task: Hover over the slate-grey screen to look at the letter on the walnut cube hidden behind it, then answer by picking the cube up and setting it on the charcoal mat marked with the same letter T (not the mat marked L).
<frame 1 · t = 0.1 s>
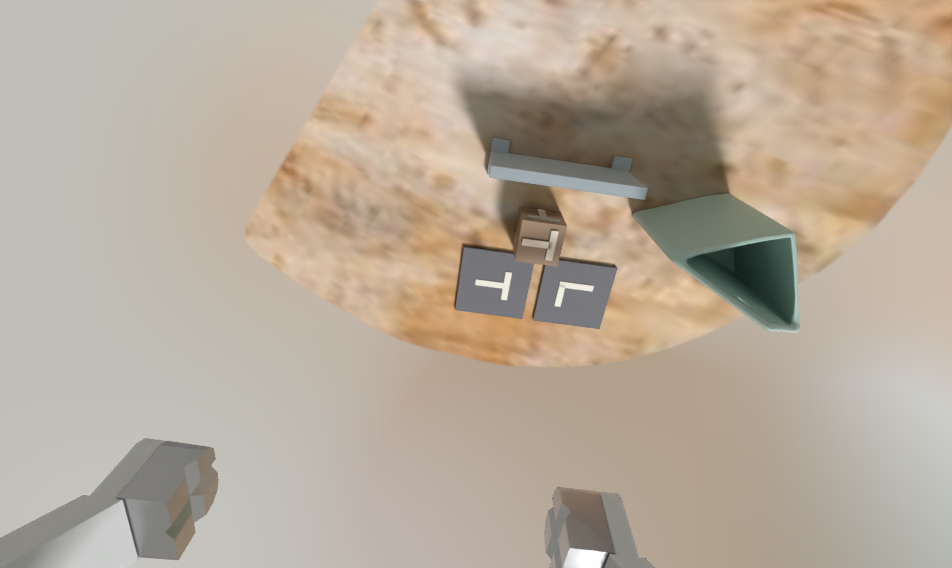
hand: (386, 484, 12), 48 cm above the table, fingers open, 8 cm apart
planter: (705, 220, 58), on the table
pad L: (573, 293, 63), on the table
cube: (536, 229, 59), on the table
pad T: (494, 283, 62), on the table
screen: (558, 165, 55), on the table
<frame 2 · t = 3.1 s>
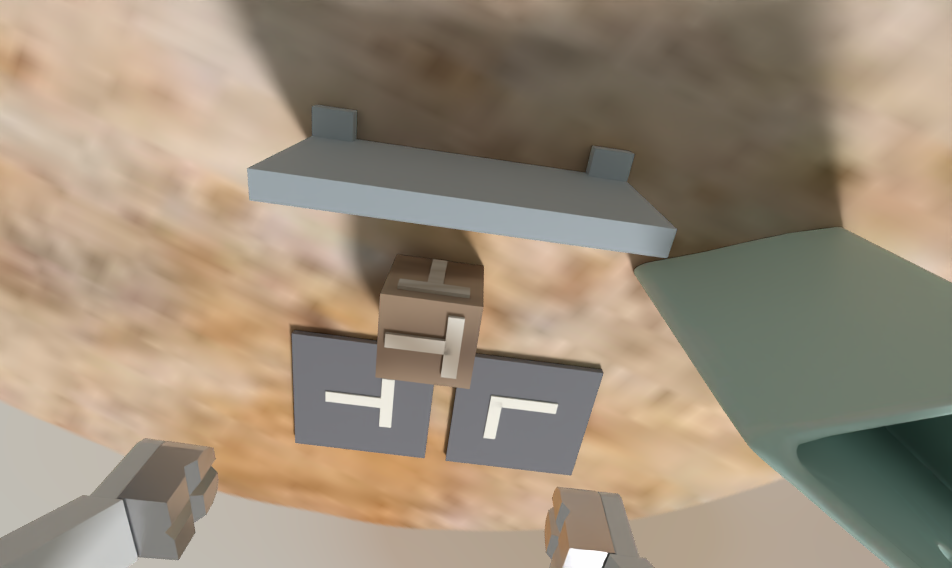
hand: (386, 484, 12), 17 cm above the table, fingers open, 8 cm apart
planter: (784, 281, 28), on the table
pad L: (519, 415, 32), on the table
cube: (436, 297, 29), on the table
pad T: (363, 396, 32), on the table
screen: (470, 167, 25), on the table
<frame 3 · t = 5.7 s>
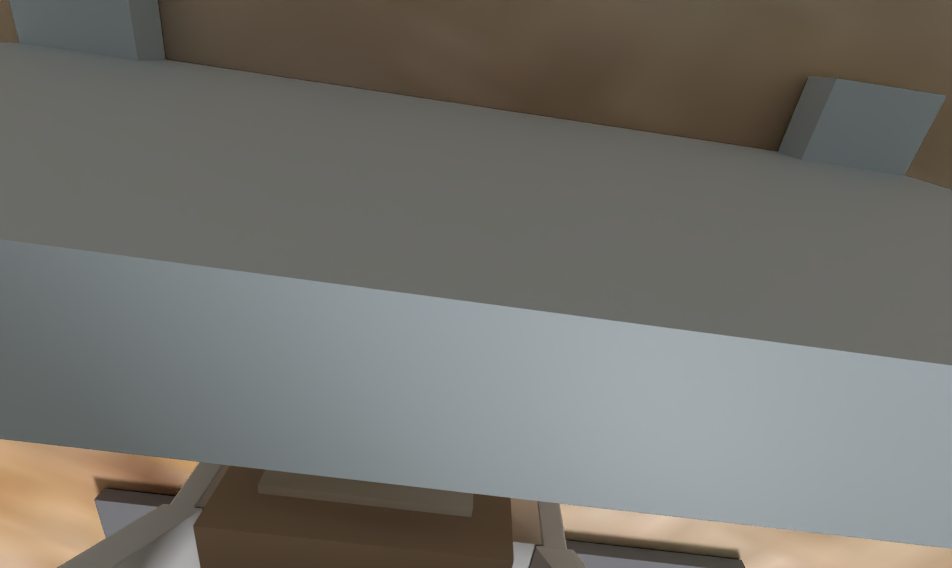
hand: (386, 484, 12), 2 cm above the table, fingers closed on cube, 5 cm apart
cube: (398, 433, 13), on the table, touching gripper
screen: (475, 138, 10), on the table
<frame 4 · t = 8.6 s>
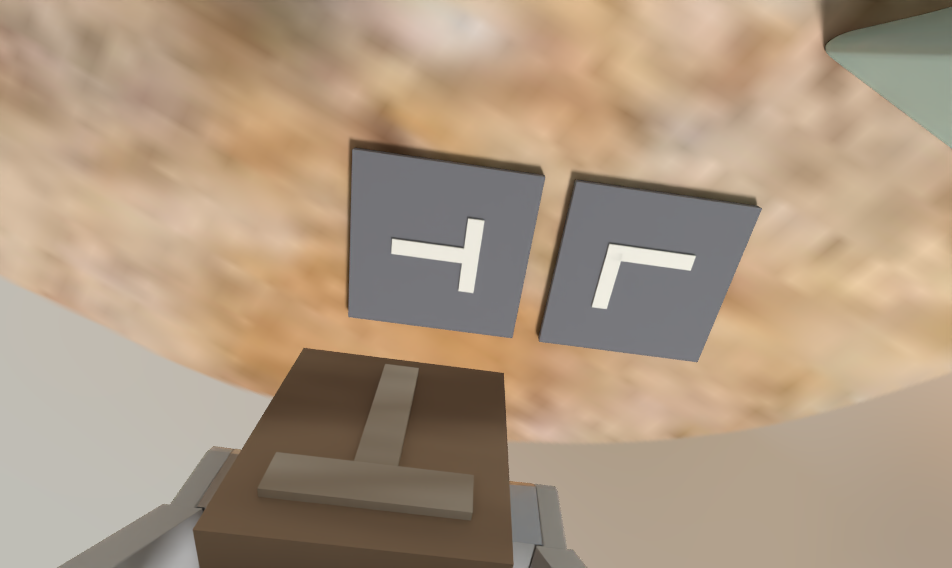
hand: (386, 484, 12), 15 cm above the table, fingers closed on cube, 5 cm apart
pad L: (640, 276, 25), on the table
cube: (397, 435, 13), point 13 cm above the table, touching gripper
pad T: (440, 249, 25), on the table
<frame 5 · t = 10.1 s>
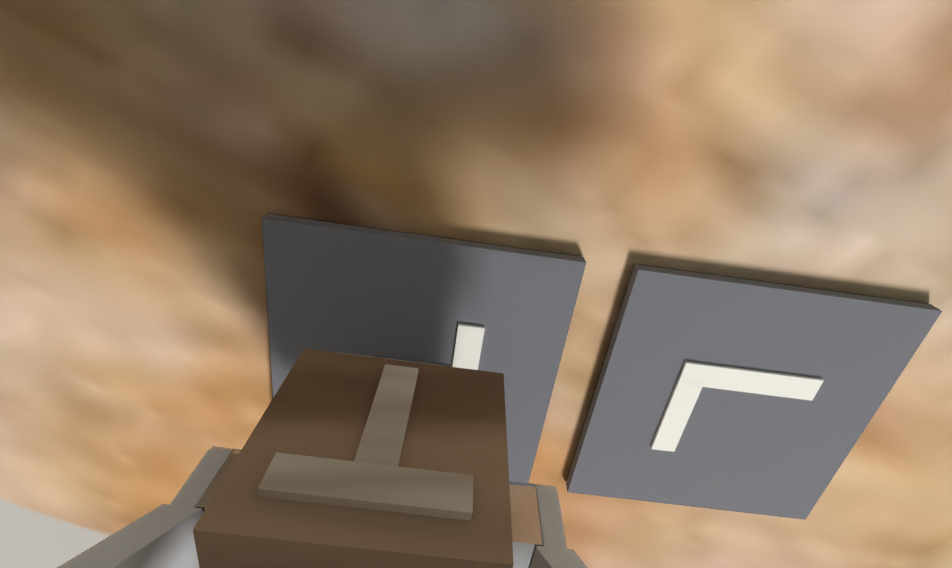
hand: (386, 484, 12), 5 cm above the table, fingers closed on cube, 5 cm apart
pad L: (727, 403, 16), on the table
cube: (397, 436, 13), point 3 cm above the table, touching gripper
pad T: (415, 364, 16), on the table
when the fingers open (3 cm above the table, at t = 11.3 s): cube stays where it is, resting on pad T.
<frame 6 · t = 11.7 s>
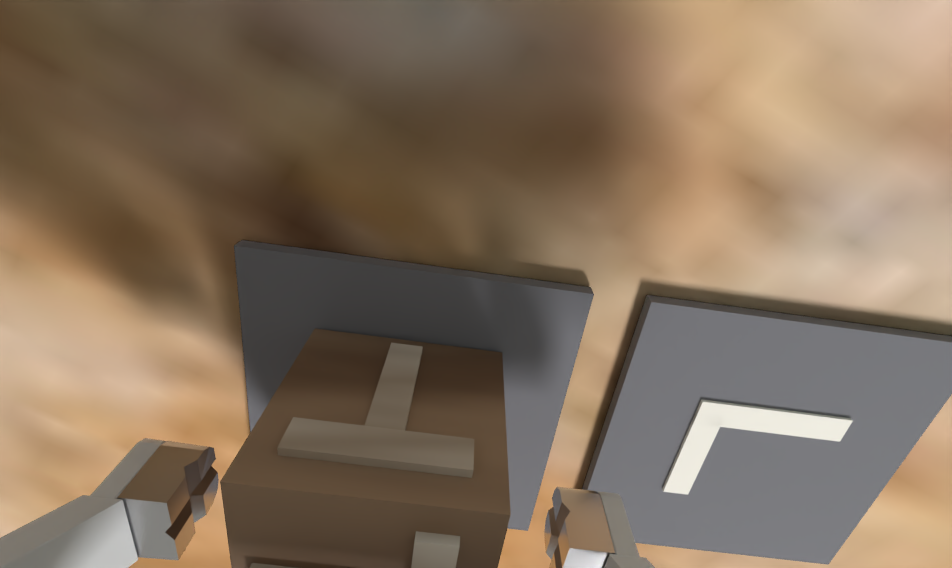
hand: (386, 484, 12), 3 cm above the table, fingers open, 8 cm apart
pad L: (746, 443, 15), on the table
cube: (402, 413, 14), resting on pad T
pad T: (405, 401, 14), on the table
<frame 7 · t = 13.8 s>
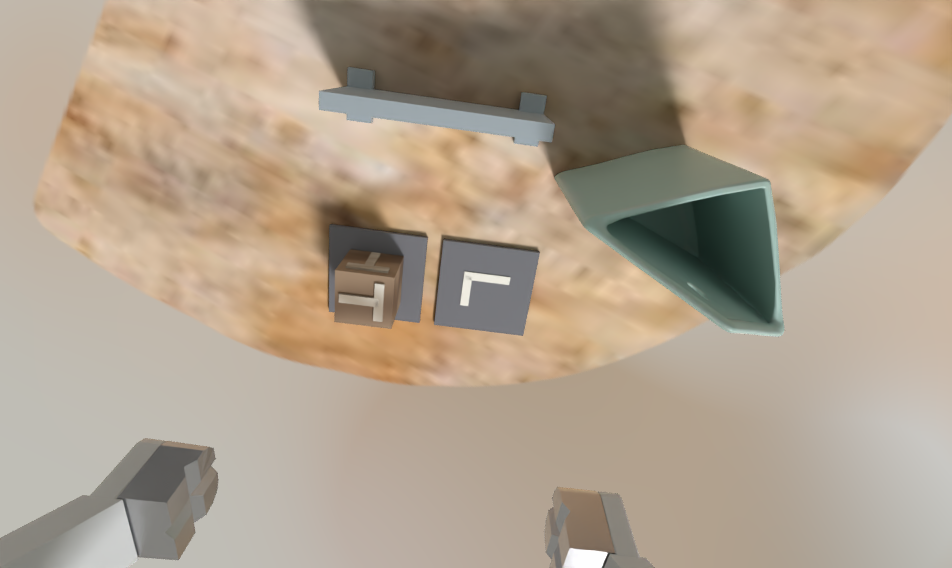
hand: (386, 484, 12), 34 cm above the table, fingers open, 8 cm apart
planter: (655, 184, 43), on the table
pad L: (485, 288, 47), on the table
cube: (375, 276, 46), resting on pad T
pad T: (377, 274, 46), on the table
screen: (446, 107, 40), on the table
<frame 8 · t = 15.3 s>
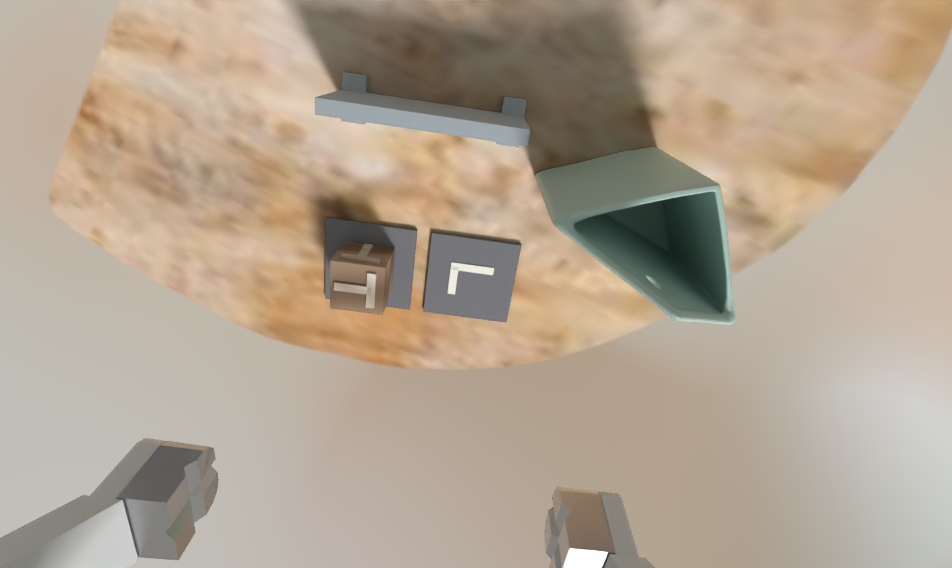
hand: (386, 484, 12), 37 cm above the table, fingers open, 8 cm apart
planter: (628, 183, 46), on the table
pad L: (470, 278, 50), on the table
cube: (368, 266, 49), resting on pad T
pad T: (370, 264, 50), on the table
screen: (433, 109, 43), on the table
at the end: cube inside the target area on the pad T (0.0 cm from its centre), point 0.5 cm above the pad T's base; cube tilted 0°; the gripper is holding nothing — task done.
